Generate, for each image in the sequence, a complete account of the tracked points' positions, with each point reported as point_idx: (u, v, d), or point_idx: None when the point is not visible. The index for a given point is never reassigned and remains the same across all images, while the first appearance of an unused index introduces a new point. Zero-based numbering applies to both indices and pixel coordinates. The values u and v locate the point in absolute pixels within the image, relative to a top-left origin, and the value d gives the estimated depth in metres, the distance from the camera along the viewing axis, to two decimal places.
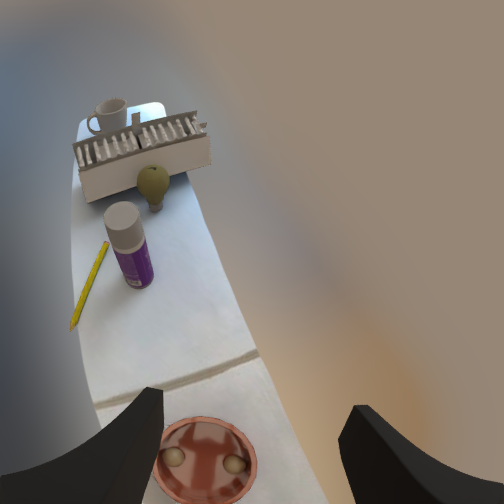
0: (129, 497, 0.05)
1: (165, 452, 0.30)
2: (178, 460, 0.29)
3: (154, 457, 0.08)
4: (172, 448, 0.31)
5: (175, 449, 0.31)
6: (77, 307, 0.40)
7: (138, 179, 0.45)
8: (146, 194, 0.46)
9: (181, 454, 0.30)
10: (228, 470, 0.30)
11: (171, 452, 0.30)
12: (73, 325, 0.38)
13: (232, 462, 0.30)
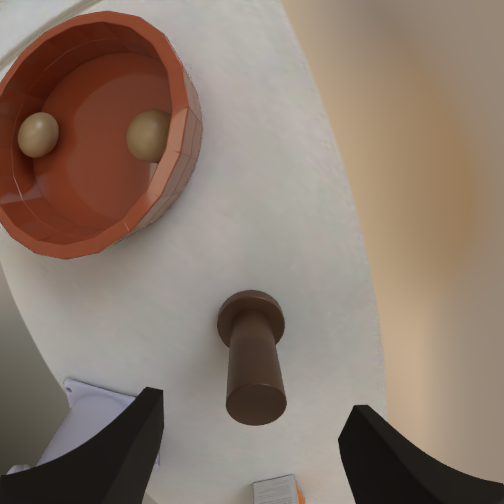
0: (129, 497, 0.05)
1: (21, 125, 0.13)
2: (36, 135, 0.13)
3: (154, 457, 0.08)
4: (35, 113, 0.13)
5: (38, 113, 0.13)
6: None
7: None
8: None
9: (46, 122, 0.13)
10: (130, 147, 0.13)
11: (27, 120, 0.12)
12: None
13: (139, 123, 0.13)
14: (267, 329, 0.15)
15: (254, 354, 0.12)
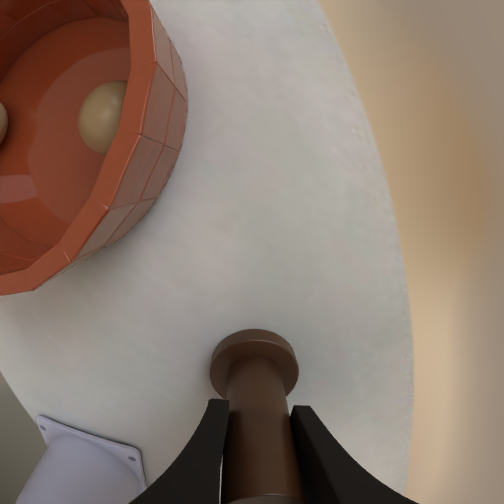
0: None
1: None
2: None
3: (219, 467, 0.08)
4: None
5: None
6: None
7: None
8: None
9: None
10: (82, 134, 0.08)
11: None
12: None
13: (92, 99, 0.08)
14: (277, 388, 0.11)
15: (259, 440, 0.08)
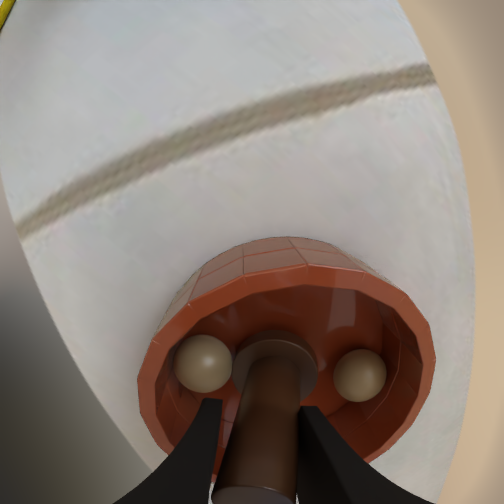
0: None
1: (180, 360, 0.12)
2: (217, 382, 0.12)
3: (213, 467, 0.08)
4: (199, 345, 0.13)
5: (208, 349, 0.12)
6: None
7: None
8: None
9: (225, 362, 0.13)
10: (346, 396, 0.13)
11: (197, 364, 0.12)
12: None
13: (363, 383, 0.12)
14: (290, 387, 0.11)
15: (259, 434, 0.08)
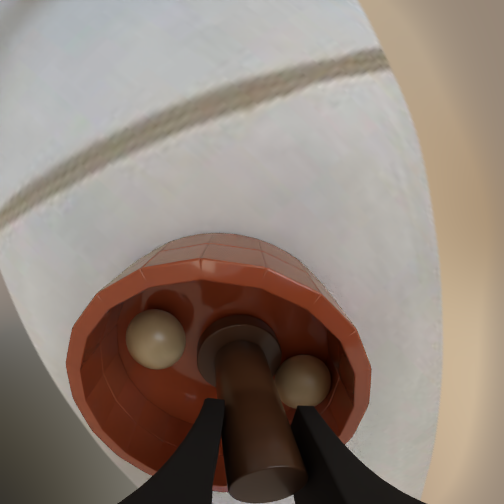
0: None
1: (147, 331, 0.12)
2: None
3: (215, 467, 0.08)
4: (150, 312, 0.13)
5: (159, 310, 0.13)
6: None
7: None
8: None
9: (175, 318, 0.14)
10: (287, 404, 0.13)
11: (165, 321, 0.12)
12: None
13: (301, 392, 0.12)
14: (261, 367, 0.11)
15: (251, 419, 0.08)
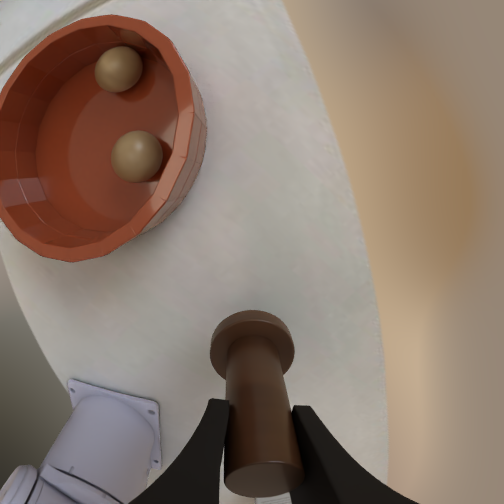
0: None
1: None
2: (101, 85, 0.13)
3: None
4: None
5: None
6: None
7: None
8: None
9: (96, 70, 0.12)
10: (123, 179, 0.14)
11: None
12: None
13: (119, 160, 0.13)
14: (270, 362, 0.11)
15: (252, 413, 0.09)
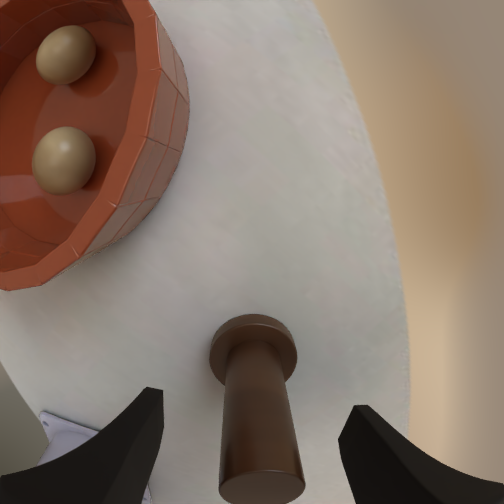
0: (129, 497, 0.05)
1: None
2: None
3: (154, 457, 0.08)
4: None
5: None
6: None
7: None
8: None
9: None
10: None
11: None
12: None
13: None
14: (271, 367, 0.11)
15: (250, 419, 0.08)
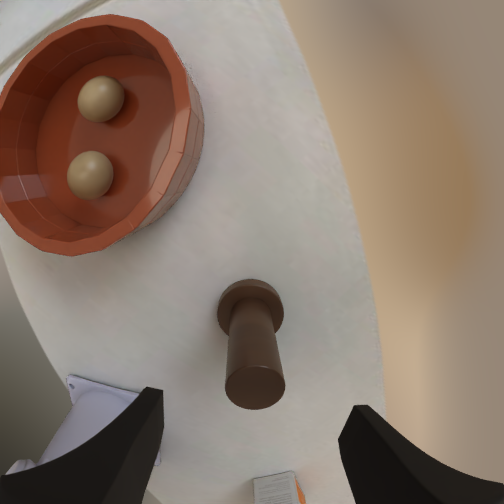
0: (129, 497, 0.05)
1: None
2: None
3: (154, 457, 0.08)
4: None
5: None
6: None
7: None
8: None
9: None
10: None
11: None
12: None
13: None
14: (263, 313, 0.16)
15: (247, 339, 0.13)
